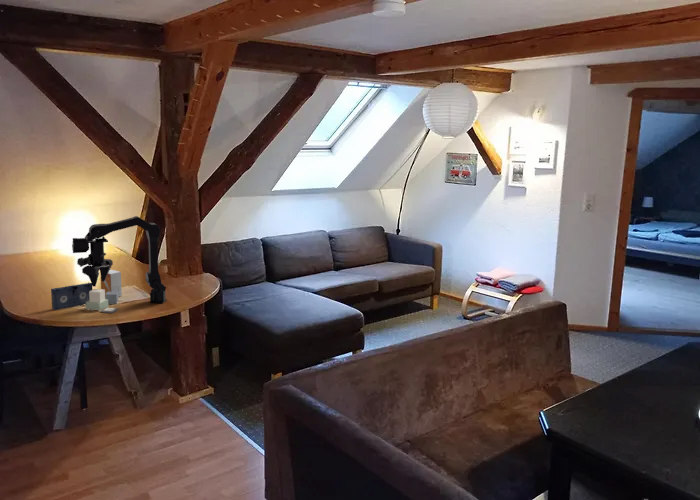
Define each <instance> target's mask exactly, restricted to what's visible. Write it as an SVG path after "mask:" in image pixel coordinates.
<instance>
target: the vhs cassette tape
mask: <svg viewBox="0 0 700 500" xmlns="http://www.w3.org/2000/svg"><path fill="white" fill-rule="evenodd" d="M93 289H94V288H93V285H92V283H91V282H87V283H81V284H73V285H67V286H62V287H54V288H51V289H50V294H51V296H50V298H51V309H52V310H54V311H58V310H64V309H68V308H69V309H70V308H74V306H75V307H79V306H78V305H80V306H83V305H82V304H85V305H86V302H87V301H89V300H90V298H89V292H90V291H91V290H93Z"/></svg>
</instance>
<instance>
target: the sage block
mask: <svg viewBox="0 0 700 500" xmlns="http://www.w3.org/2000/svg"><path fill="white" fill-rule="evenodd" d="M104 308H109V304H108V299H106V298H105V300H104V301H102V302H100V303H99V302H90V300H89V301H87V302H86V304H85V310H86V309H91V310H90V311H93V310H98V311H97V312H100V310H101V311H102V309H104Z"/></svg>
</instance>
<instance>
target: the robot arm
mask: <svg viewBox="0 0 700 500" xmlns="http://www.w3.org/2000/svg"><path fill="white" fill-rule="evenodd" d="M137 226H138V227H140V228H141V229H143V230H145V233H146V238H147V240H148V241H147V242H148V272H145V280H144V281H146V283H147V284H148V285H149V287H150V288H151V289H150V292H149V303H151V304H163V303H165V302H166V301H167V300H168V299H167V298H166V297H167V296H166V295H167V293H166V290H167V287H166V286H165V284H163V282H162V278H161V275H160V274H161V273H160V272H159V256H158V255H159V251H158V250H159V248H158V246H159V245H158V242H159V239H160V237H161V236H160V234H161V228H160V226H159V225H158V224H156V223H154V222H148V221H146V220H144V219H143V218H141V217H139V216H138V215H135V216H133V217H129V218H128V217H127V218H125V219H121V220H118V221H113V222H109V223H93V224H91V225H89V228H88V232H87V233H86V235H85V236H84V237H82V238H81V237H80V238H79V237H73V238H72V244H71V247H72V248H71V250H72V253H73V254H81V253H82V254H83V253H87V252H89V251H90V253H88V254H87V255H88V256H86V257H79V258H77V261H76V265H78V266H79V267H80V268H81V267H82V269H81V272H82V274H84V275H85V276H88V279H89V280H90V283H92V287H96V286H97V282H98V279H99V276H100V280H101V279H102V281H103V282H104V281H105V279H106V277H107V274H108V272H109V270H111V268H112V266H113V265H114V264H113V263H114V261H113V260H112V259H111V258H105V256H107V253H106V252H105V249H104V248H105V246H104V243H108V242H109V241H108V239H107V238H106V237H105V236H107V235H108V234H111V233H113V232H115V231H116V232H117V231H120V230H124V229H129V228H132V227H137Z"/></svg>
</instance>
